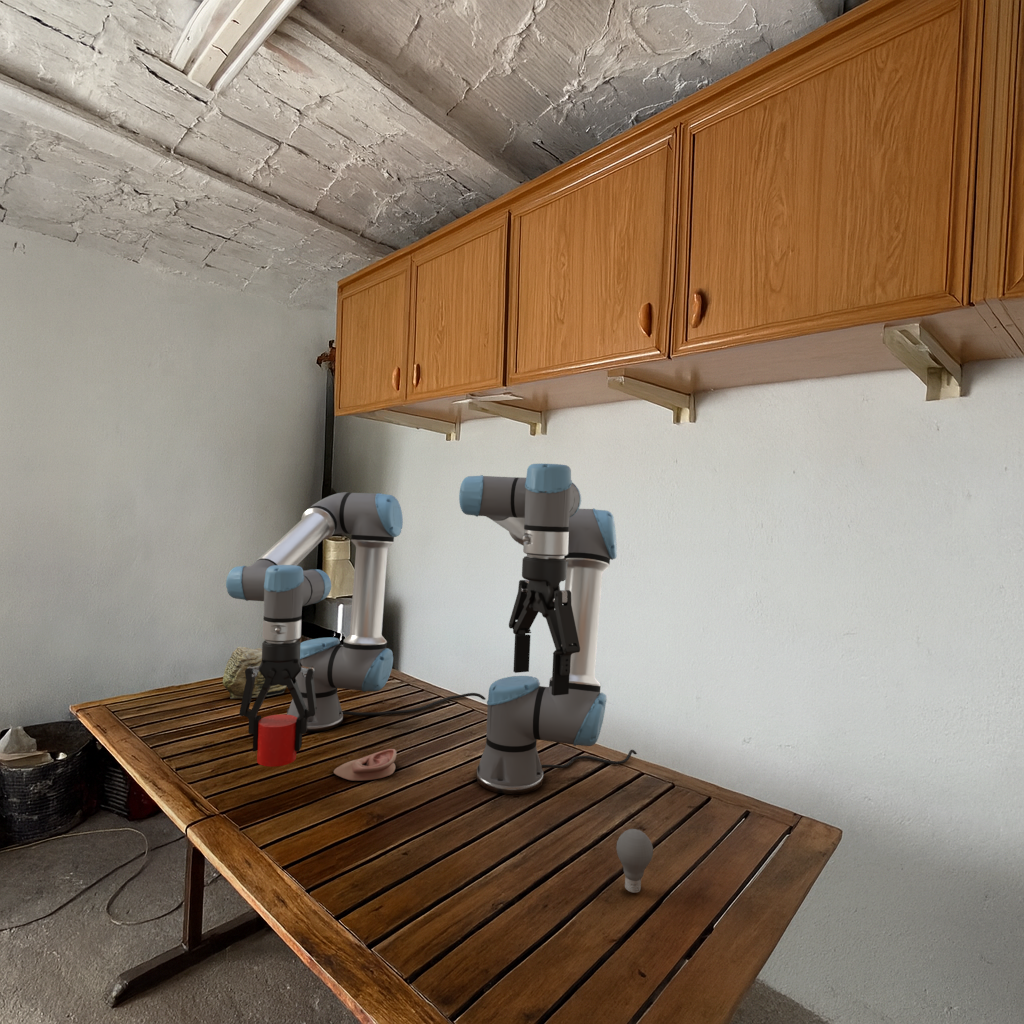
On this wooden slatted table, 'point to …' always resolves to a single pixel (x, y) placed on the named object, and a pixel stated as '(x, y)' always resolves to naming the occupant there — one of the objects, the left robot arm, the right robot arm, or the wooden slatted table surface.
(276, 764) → the cylinder
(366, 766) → the anatomical model
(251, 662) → the fossil
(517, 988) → the wooden slatted table surface
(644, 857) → the light bulb
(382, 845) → the wooden slatted table surface
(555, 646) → the right robot arm
